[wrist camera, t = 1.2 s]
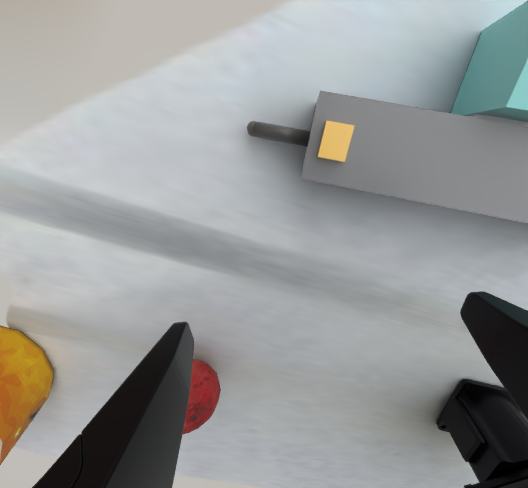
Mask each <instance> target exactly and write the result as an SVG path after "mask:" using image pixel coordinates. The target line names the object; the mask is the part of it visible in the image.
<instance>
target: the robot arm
mask: <svg viewBox="0 0 528 488" xmlns="http://www.w3.org/2000/svg"><path fill="white" fill-rule="evenodd" d="M460 313H461V317H462V320H463V321H464V323H465V325H466V326H467V328H468V330H469V332H470V333H471V335H472V337H473V339H474V340H475V342H476V344H477V346H478V347H479V349H480V351H481V353H482V354H483V356H484V358H485V359H486V361H487V363H488V364H489V366H490V367H491V369H492V370H493V372H494V373H495V374H496V376H497V377H498V379H499V380H500V382H501V383H502V384H503V386H504V387H505V388H502V387H498V386H494V385H489V384H485V383H481V382H477V381H473V380H468V379H465V380H462V381H461V382H460V383H459V385H458V387H457V388H456V390H455V392H454V393H453V395H452V397H451V398H450V400H449V402H448V403H447V405H446V407H445V408H444V410H443V412H442V414H441V415H440V417H439V419H438V420H437V422H436V424H437V427H438V429H440V430H442V431H446V432H450V434H451V436H452V438H453V440H454V442H455V444H456V446H457V447H458V449H459V451H460V453H461V455H462V457H463V459H464V460H465V461H466V462H469V464H470V466H471V467H472V469H473V471H474V473H475V475H476V477H477V479H478V481H479V482H480V483H477V484H473V485H471V484H468V485H465V486H464V488H528V311H527V310H524V309H522V308H520V307H518V306H516V305H513V304H511V303H509V302H507V301H504V300H502V299H500V298H498V297H495V296H493V295H491V294H489V293H486V292H482V291H481V292H471V293H469V294H468V295H467V297H466V299H465V301H464V304H463V306H462V308H461V312H460ZM193 351H194V339H193V336H192V333H191V330H190V327H189V324H188V323H187V322H177V323H174V324H173V325H172V326H171V327H170V328H169V329H168V330H167V332H166V333H165V334H164V335H163V336H162V338H161V339H160V340H159V341H158V342H157V343H156V345H155V346H154V347H153V348H152V349H151V351H150V352H149V353H148V354H147V355H146V356H145V358H144V359H143V360H142V361H141V362H140V363H139V365H138V366H137V367H136V368H135V369H134V371H133V372H132V373H131V374H130V375H129V376H128V378H127V379H126V380H125V381H124V382H123V383H122V385H121V386H120V387H119V388H118V389H117V391H116V392H115V393H114V394H113V395H112V396H111V398H110V399H109V400H108V401H107V402H106V404H105V405H104V406H103V407H102V408H101V409H100V411H99V412H98V413H97V414H96V415H95V416H94V418H93V419H92V420H91V421H90V422H89V424H88V425H87V426H86V427H85V428H84V429H83V431H82V434H80V435H78V436H77V438H76V439H75V440H74V441H73V442H72V443H71V445H70V446H69V447H68V448H67V449H66V450H65V452H64V453H63V454H62V455H61V456H60V457H59V458H58V460H57V461H56V462H55V463H54V464H53V465H52V466H51V468H50V469H49V470H48V471H47V472H46V473H45V474H44V476H43V477H42V478H41V479H40V480H39V481H38V482H37V483H36V484H35V485H34V486H33V487H32V488H172V485H173V480H174V475H175V470H176V464H177V459H178V454H179V449H180V444H181V438H182V433H183V428H184V423H185V417H186V412H187V407H188V402H189V396H190V387H191V375H192V363H193Z"/></svg>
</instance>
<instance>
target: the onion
mask: <svg viewBox="0 0 528 488" xmlns="http://www.w3.org/2000/svg"><path fill="white" fill-rule="evenodd" d="M220 390H221V389H220V384H219V380H218V376H217V373H216V372H215V371H214V370H213V369H212V368H211V367H210V366H209V365H208V364H207V363H205V362H203V361H199V360H193V363H192V375H191V387H190V396H189V402H188V407H187V412H186V417H185V423H184V428H183V433H182V434H186V433H189V432H191V431H193V430H195V429H198V428H199V427H200V426H201V425H202V424H204V423H205V422H206V421H207V420H208V419H209V418H210V417H211V415H212V414H213V412H214V410H215V408H216V405H217V402H218V399H219V395H220Z"/></svg>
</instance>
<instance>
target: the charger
mask: <svg viewBox="0 0 528 488" xmlns="http://www.w3.org/2000/svg"><path fill="white" fill-rule="evenodd" d="M450 113H451V114H457V115H463V116H469V117H475V118H480V119H486V120H492V121H498V122H503V123H509V124H515V125H521V126H526V127H528V1H527V2H525V3H524V4H522V5H521V6H519V7H518V8H516V9H514V10H513V11H511V12H510V13H508V14H507V15H505V16H504V17H502V18H501V19H499V20H498V21H496V22H495V23H493V24H492V25H490V26H489V27H487V28H486V29H484V30H482V32H481V35H480V38H479V40H478V43H477V45H476V48H475V50H474V53H473V56H472V58H471V61H470V63H469V66H468V69H467V71H466V74H465V76H464V79H463V81H462V84H461V87H460V89H459V92H458V94H457V97H456V100H455V102H454V105H453V107H452V110H451V112H450Z"/></svg>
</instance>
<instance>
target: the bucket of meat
mask: <svg viewBox="0 0 528 488" xmlns="http://www.w3.org/2000/svg"><path fill="white" fill-rule="evenodd" d="M52 379H53V368H52V366H51V364H50V362H49V360H48V358H47V356H46V354H45V352H44V350H43V349H42V348H41V347H40V346H38V345H37V344H36V343H35V342H34V341H32V340H31V339H30V338H29V337H27V336H26V335H25V334H24V333H23V332H21V331H18V330H14V329H11V328H7V327H3V326H0V465H1V463H2V462H3V461H4V459H5V458H6V456H7V455H8V453H9V452H10V451H11V449H12V448H13V446H14V445H15V444H16V442H17V441H18V439H19V438H20V437H21V435H22V434H23V432H24V431H25V429H26V428H27V427H28V425H29V424H30V422H31V421H32V420H33V418H34V417H35V415H36V414H37V413H38V411H39V410H40V408H41V407H42V405H43V404H44V403H45V401H46V400H47V398H48V397H49V393H50V388H51V384H52Z"/></svg>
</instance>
